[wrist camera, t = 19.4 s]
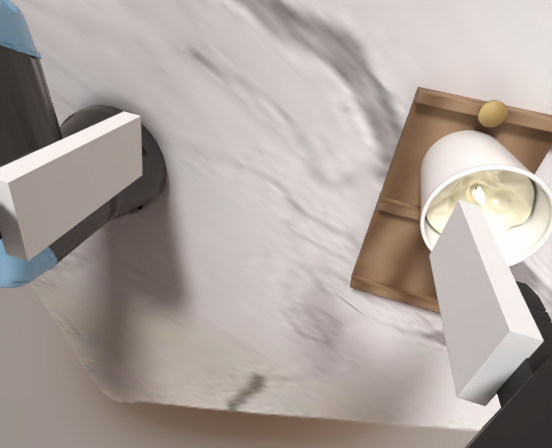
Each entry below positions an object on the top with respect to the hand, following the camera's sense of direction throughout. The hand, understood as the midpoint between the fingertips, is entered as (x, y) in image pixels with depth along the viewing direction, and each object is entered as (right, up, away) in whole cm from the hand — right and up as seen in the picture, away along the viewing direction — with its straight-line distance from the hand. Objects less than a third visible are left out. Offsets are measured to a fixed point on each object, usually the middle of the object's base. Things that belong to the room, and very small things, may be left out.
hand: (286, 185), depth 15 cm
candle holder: (+20, +5, +25) cm, 32 cm away
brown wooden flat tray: (+19, 0, +29) cm, 35 cm away
